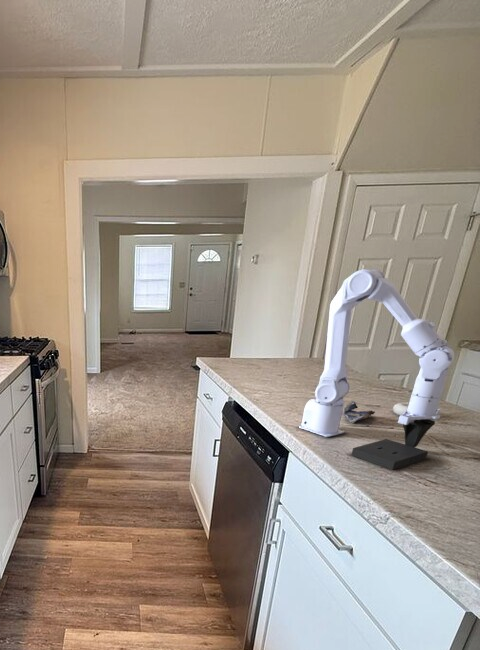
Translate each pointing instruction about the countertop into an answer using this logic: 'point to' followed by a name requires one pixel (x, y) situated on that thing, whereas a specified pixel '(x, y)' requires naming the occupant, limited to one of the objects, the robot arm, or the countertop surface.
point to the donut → (400, 408)
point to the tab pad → (402, 449)
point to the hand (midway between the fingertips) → (410, 446)
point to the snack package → (355, 413)
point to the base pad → (381, 456)
